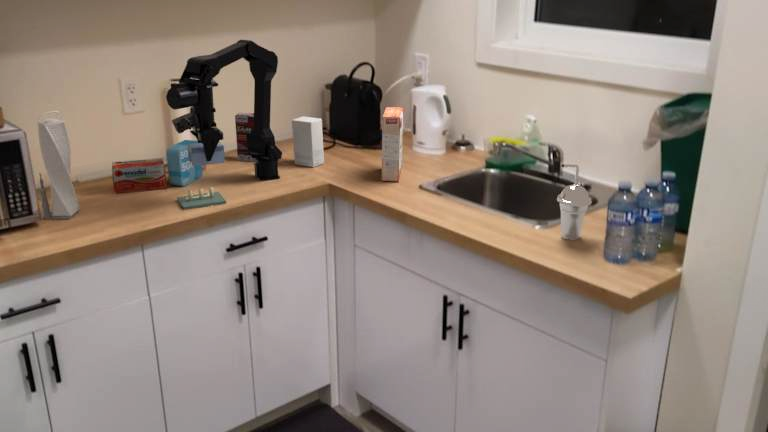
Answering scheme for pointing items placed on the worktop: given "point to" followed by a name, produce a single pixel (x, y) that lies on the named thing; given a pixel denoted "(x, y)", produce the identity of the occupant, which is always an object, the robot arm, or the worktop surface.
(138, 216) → the worktop surface
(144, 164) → the medicine box
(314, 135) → the skincare box
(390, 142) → the cracker box
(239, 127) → the supplement box
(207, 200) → the header board
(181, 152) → the data package
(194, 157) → the housing
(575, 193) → the cup with straw
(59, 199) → the skyscraper
